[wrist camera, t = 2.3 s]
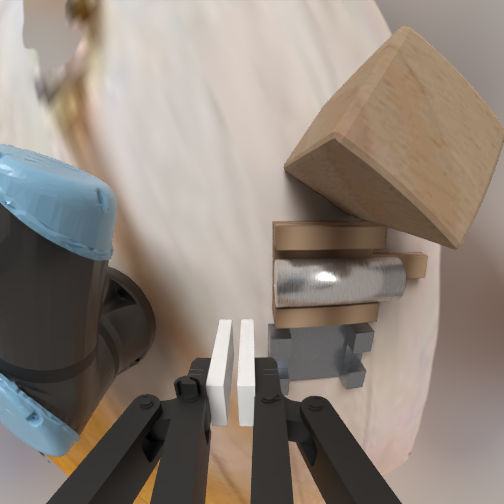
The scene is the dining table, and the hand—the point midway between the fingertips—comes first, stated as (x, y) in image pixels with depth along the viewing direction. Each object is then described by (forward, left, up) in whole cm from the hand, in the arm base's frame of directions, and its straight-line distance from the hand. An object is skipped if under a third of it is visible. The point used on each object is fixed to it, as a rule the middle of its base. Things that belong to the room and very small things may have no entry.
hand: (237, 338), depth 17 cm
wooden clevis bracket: (+14, 0, -16) cm, 21 cm away
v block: (+10, -12, -16) cm, 22 cm away
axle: (+11, 0, -14) cm, 18 cm away
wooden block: (+12, +13, -17) cm, 24 cm away
